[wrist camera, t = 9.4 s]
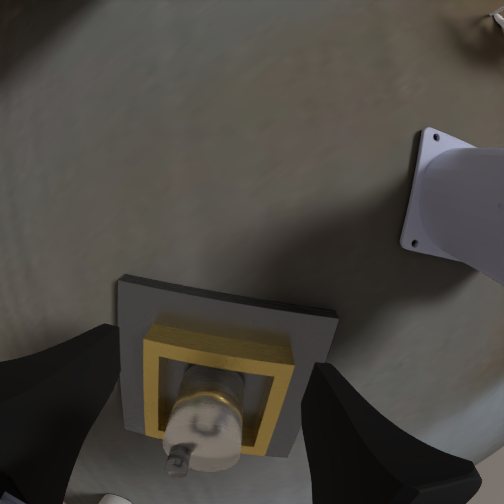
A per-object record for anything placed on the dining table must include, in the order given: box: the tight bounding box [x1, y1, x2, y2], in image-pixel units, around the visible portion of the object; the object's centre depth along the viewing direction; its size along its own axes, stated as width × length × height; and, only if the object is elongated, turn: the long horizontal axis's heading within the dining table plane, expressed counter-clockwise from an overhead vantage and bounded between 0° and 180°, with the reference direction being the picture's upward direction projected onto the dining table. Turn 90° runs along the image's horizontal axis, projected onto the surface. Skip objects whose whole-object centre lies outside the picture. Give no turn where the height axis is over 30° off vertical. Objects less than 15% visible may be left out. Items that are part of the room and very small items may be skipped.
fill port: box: [118, 274, 339, 458], centre depth 20 cm, size 14×14×3 cm
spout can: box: [162, 364, 244, 478], centre depth 17 cm, size 4×4×8 cm
